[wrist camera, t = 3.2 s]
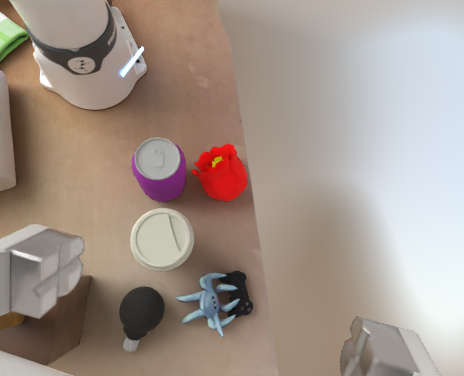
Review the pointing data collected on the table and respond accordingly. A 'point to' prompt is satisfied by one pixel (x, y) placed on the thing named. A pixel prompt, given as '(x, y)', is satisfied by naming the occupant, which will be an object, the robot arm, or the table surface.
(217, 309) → the figurine
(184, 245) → the coffee cup
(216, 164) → the flower
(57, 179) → the table surface
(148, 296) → the light bulb
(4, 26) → the dish towel
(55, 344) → the lamp
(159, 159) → the beverage can
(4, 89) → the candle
